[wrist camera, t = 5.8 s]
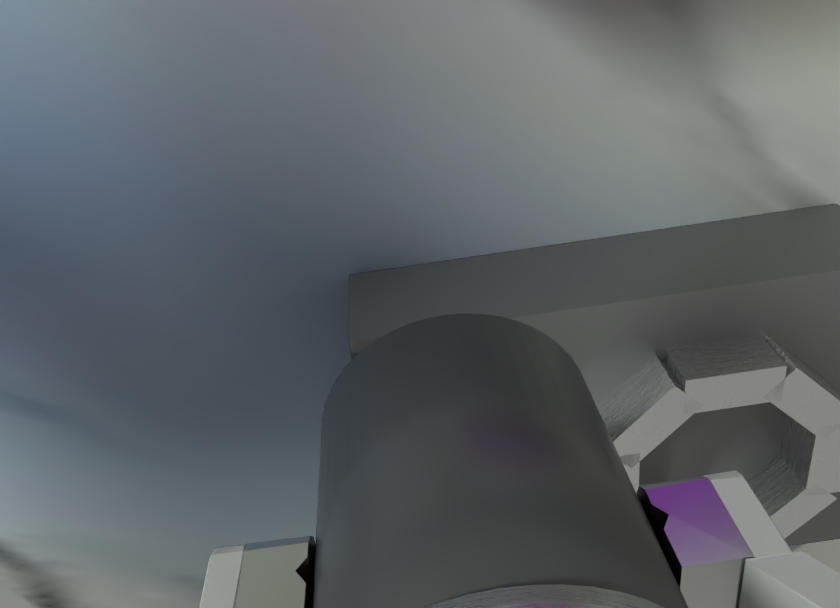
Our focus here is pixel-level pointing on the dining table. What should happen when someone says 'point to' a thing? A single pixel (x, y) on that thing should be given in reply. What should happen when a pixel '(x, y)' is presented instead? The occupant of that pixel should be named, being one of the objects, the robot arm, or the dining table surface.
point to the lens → (476, 480)
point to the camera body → (675, 345)
